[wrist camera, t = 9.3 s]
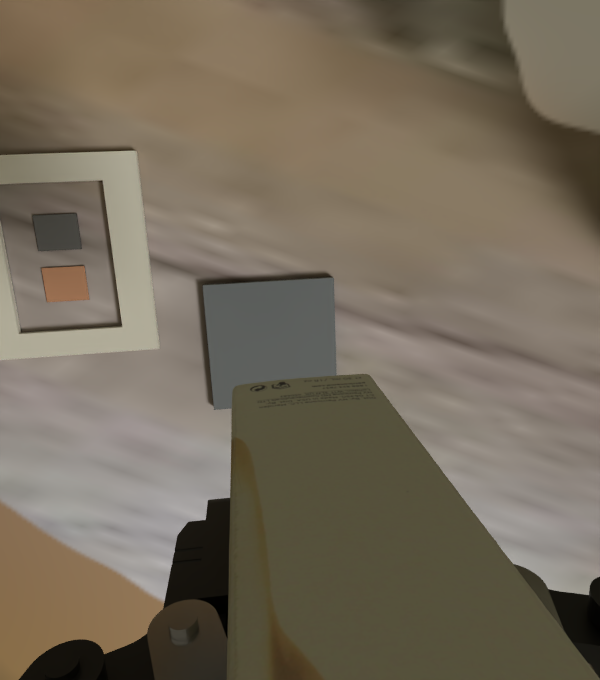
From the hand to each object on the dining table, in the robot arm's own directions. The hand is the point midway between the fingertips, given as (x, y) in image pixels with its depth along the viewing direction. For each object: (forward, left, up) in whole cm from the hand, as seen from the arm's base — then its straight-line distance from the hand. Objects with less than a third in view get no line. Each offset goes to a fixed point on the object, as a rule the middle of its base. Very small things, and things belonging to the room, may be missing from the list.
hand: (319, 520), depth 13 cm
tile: (0, 0, -19) cm, 19 cm away
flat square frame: (+12, -6, -19) cm, 24 cm away
